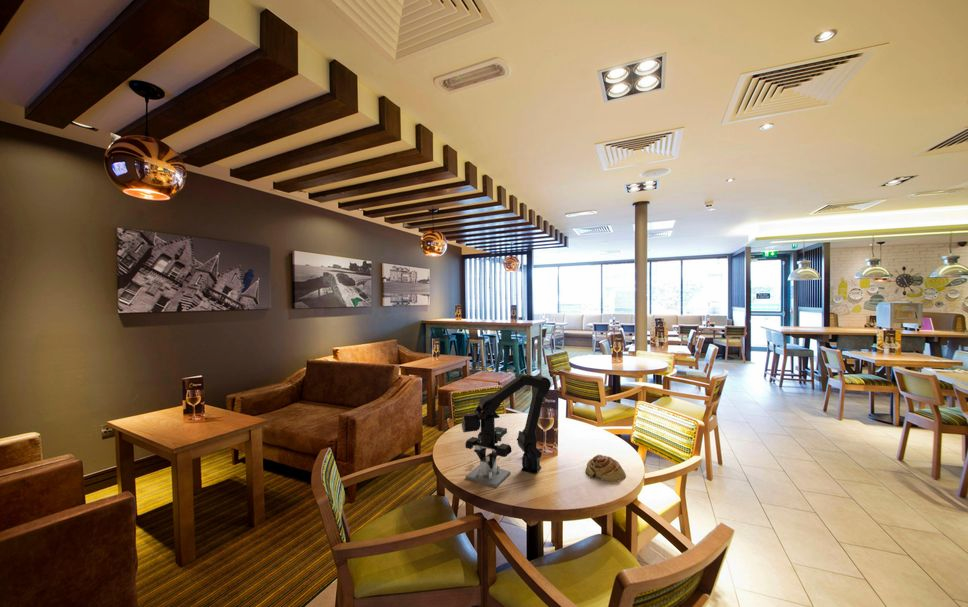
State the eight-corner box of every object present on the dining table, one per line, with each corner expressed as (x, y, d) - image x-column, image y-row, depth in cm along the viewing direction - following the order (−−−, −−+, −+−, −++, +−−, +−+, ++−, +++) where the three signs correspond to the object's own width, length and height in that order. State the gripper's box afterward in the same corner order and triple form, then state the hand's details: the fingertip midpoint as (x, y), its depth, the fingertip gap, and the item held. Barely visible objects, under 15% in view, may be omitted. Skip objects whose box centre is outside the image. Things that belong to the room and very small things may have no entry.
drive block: (496, 466, 141) (496, 454, 141) (486, 475, 134) (486, 462, 134) (489, 465, 142) (489, 453, 142) (479, 473, 136) (479, 460, 136)
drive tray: (510, 473, 140) (510, 465, 140) (496, 487, 130) (496, 478, 130) (481, 465, 147) (481, 457, 147) (465, 478, 137) (465, 469, 137)
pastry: (579, 470, 142) (579, 451, 142) (607, 463, 148) (607, 445, 148) (602, 486, 130) (601, 465, 130) (631, 477, 136) (631, 457, 136)
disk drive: (490, 430, 190) (477, 439, 177) (490, 425, 190) (477, 434, 177) (507, 433, 185) (495, 443, 172) (507, 428, 185) (495, 437, 172)
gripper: (517, 426, 140) (517, 464, 140) (478, 419, 150) (479, 454, 150) (504, 435, 131) (505, 476, 131) (464, 427, 140) (464, 465, 140)
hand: (488, 467), depth 138 cm, fingers closed on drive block, 3 cm apart
